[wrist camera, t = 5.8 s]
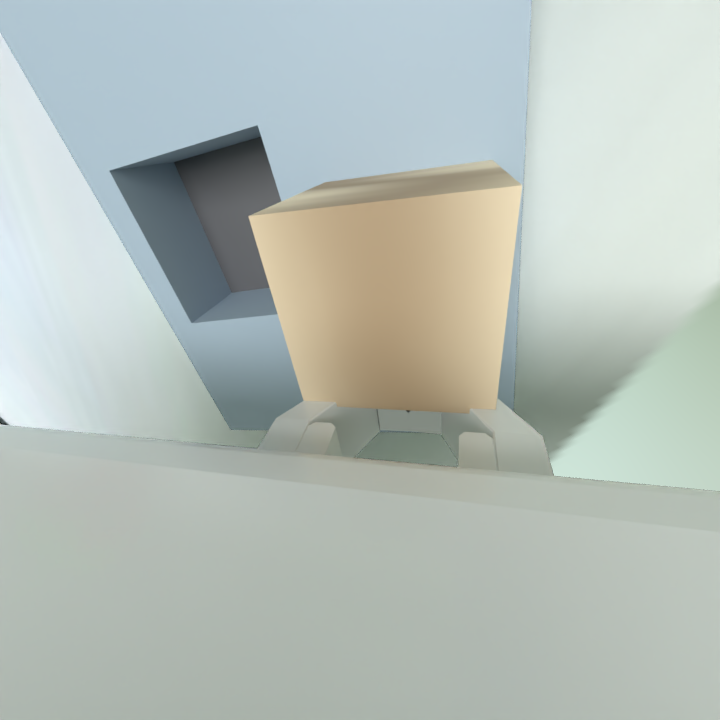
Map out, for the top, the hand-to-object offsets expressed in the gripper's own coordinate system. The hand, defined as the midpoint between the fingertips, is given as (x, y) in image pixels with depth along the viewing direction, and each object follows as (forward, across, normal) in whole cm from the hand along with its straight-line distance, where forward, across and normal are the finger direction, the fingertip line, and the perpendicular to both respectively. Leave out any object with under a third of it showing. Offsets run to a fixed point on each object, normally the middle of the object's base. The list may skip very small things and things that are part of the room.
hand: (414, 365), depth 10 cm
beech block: (+1, 0, -3) cm, 3 cm away
